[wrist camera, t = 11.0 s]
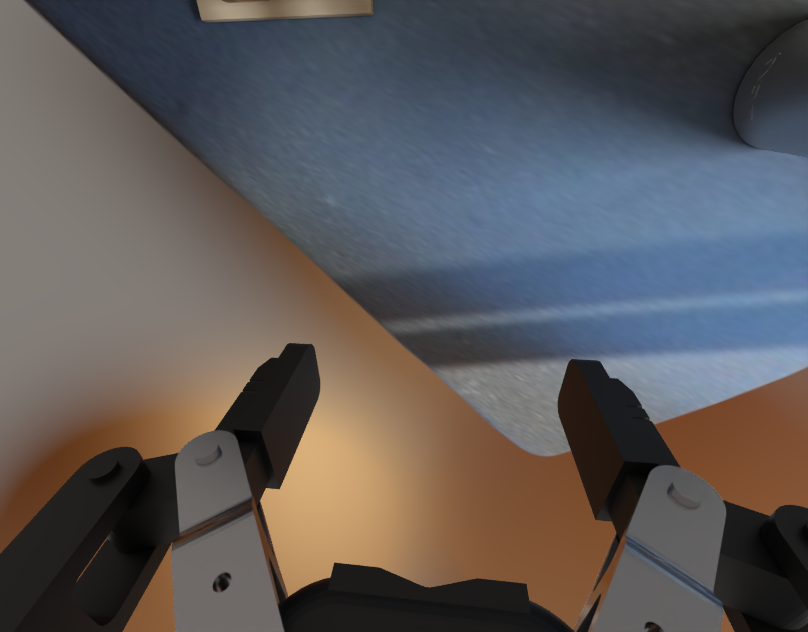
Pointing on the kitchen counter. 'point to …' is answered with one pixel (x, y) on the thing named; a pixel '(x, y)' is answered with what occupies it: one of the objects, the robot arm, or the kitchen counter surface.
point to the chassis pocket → (280, 9)
